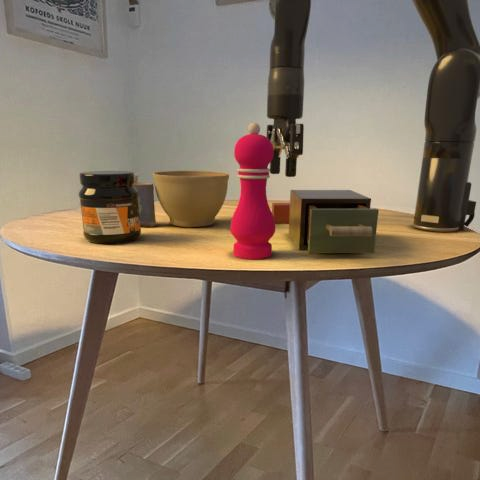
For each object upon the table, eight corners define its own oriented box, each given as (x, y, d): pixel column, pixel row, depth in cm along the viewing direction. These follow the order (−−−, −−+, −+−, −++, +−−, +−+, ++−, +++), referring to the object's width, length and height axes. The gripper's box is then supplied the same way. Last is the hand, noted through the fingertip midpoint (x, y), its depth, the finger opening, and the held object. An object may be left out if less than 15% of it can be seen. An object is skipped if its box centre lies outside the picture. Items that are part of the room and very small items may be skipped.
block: (288, 220, 109) (289, 202, 107) (291, 223, 105) (291, 205, 104) (271, 220, 109) (272, 202, 107) (273, 223, 105) (273, 205, 103)
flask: (158, 225, 101) (155, 174, 97) (149, 228, 99) (145, 175, 95) (125, 222, 105) (121, 172, 101) (116, 224, 103) (111, 173, 99)
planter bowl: (174, 233, 93) (172, 176, 89) (144, 221, 106) (141, 171, 102) (243, 226, 101) (243, 173, 97) (207, 216, 114) (206, 169, 110)
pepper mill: (229, 250, 80) (228, 123, 72) (271, 249, 80) (274, 123, 73) (232, 260, 73) (231, 121, 66) (277, 259, 74) (282, 122, 66)
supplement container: (111, 247, 81) (104, 175, 77) (71, 240, 87) (63, 172, 82) (153, 237, 89) (149, 172, 85) (114, 231, 95) (108, 169, 90)
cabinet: (366, 249, 80) (371, 198, 77) (299, 250, 80) (301, 198, 77) (346, 234, 93) (350, 189, 90) (288, 234, 93) (290, 189, 90)
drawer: (383, 260, 70) (389, 214, 67) (314, 260, 69) (317, 214, 67) (353, 237, 86) (357, 199, 83) (297, 237, 86) (299, 199, 83)
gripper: (317, 91, 92) (312, 177, 98) (287, 96, 104) (284, 172, 110) (283, 90, 90) (279, 178, 96) (256, 95, 102) (254, 173, 108)
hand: (282, 175), depth 103 cm, fingers open, 8 cm apart
